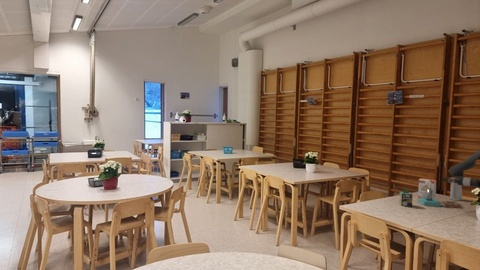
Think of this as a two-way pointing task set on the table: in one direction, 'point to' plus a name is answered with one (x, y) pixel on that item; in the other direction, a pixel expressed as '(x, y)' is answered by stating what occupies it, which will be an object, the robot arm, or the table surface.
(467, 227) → the table surface
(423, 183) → the cracker box
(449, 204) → the frame
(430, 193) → the peg
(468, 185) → the robot arm
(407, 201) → the chalk box
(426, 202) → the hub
